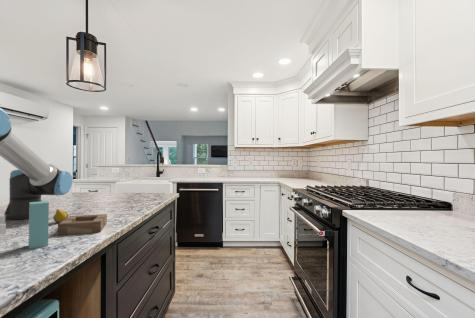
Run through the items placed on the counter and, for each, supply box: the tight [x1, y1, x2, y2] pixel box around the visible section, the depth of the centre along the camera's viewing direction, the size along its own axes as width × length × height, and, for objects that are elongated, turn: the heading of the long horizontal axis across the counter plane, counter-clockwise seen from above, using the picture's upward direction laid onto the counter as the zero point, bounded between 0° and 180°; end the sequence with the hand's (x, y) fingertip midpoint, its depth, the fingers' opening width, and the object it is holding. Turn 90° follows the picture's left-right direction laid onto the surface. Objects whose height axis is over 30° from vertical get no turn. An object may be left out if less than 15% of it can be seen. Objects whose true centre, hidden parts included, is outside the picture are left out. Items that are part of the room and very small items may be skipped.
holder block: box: [57, 213, 108, 236], centre depth 100 cm, size 14×14×4 cm
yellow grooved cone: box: [53, 208, 69, 224], centre depth 108 cm, size 5×5×10 cm
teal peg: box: [28, 200, 50, 250], centre depth 80 cm, size 4×4×14 cm
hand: (5, 224), depth 74 cm, fingers open, 13 cm apart
